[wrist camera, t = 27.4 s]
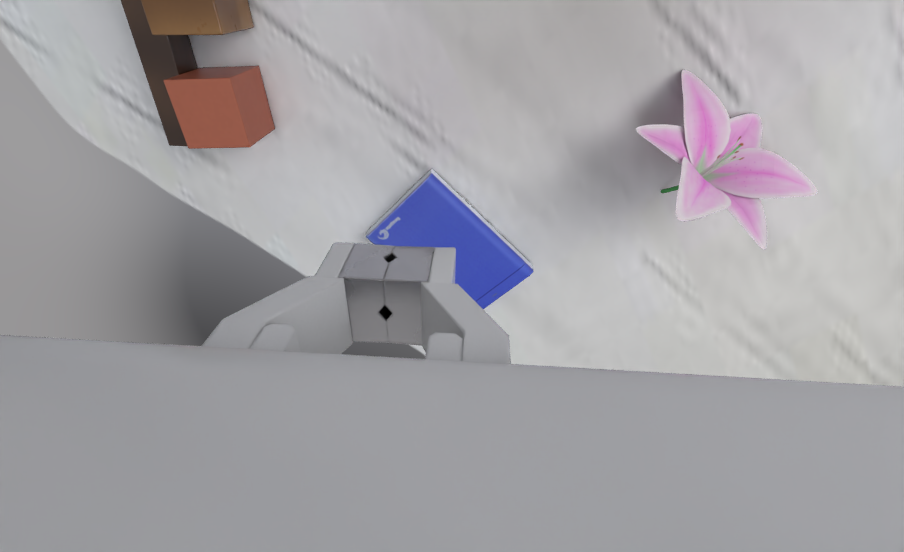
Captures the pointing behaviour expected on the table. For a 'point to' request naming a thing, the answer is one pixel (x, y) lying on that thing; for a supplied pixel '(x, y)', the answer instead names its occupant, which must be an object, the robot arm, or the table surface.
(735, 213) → the lily
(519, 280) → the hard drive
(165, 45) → the straightedge
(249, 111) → the terracotta block
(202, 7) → the oak block
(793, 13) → the table surface
